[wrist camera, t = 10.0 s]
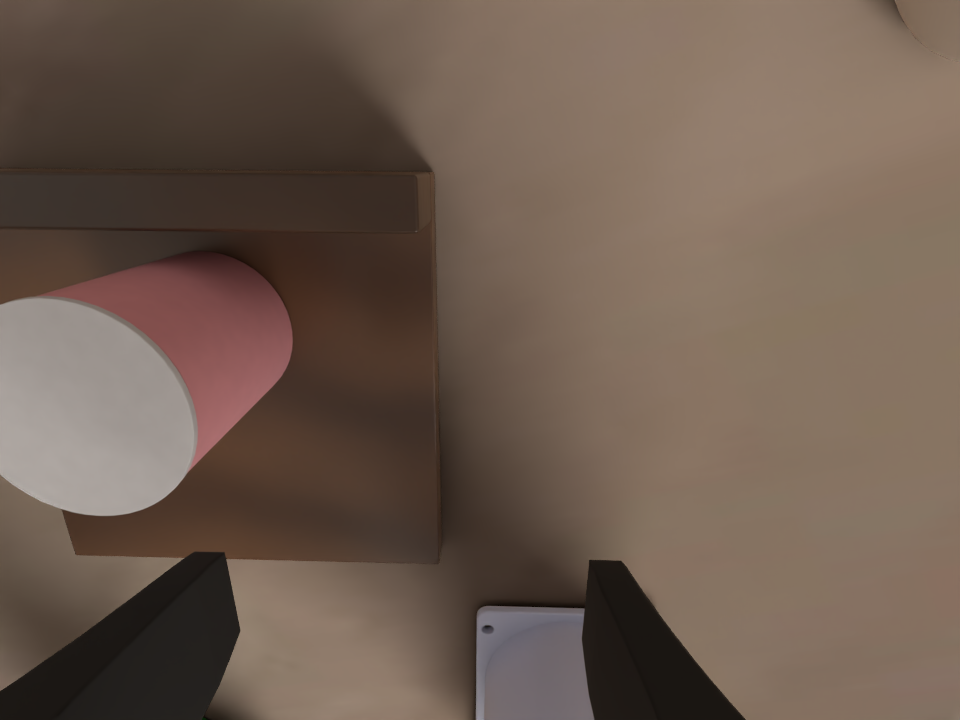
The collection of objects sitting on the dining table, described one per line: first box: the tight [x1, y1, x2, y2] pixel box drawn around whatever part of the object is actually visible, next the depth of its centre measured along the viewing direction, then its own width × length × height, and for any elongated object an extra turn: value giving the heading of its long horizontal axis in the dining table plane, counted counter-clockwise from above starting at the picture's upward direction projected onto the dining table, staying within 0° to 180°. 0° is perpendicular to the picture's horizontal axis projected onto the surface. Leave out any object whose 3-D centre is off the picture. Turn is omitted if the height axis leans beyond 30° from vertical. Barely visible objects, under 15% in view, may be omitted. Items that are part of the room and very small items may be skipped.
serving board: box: [0, 168, 442, 564], centre depth 19 cm, size 15×15×4 cm
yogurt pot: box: [0, 251, 293, 516], centre depth 15 cm, size 6×6×7 cm
